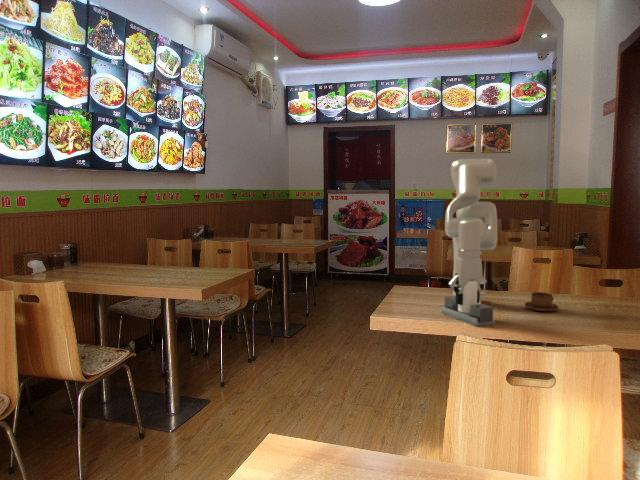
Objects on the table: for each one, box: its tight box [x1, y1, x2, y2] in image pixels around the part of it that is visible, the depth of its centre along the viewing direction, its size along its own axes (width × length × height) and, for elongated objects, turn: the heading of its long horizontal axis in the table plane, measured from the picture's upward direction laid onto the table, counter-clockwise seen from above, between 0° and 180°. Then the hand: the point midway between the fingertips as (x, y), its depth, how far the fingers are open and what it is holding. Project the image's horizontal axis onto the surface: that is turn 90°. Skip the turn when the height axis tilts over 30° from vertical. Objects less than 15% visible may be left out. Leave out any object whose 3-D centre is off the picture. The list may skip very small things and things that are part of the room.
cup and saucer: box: [524, 291, 559, 312], centre depth 195 cm, size 12×12×6 cm
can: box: [458, 280, 478, 314], centre depth 180 cm, size 6×6×12 cm
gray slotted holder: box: [440, 295, 496, 328], centre depth 181 cm, size 8×20×6 cm, turn 22°
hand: (467, 302), depth 181 cm, fingers open, 6 cm apart
